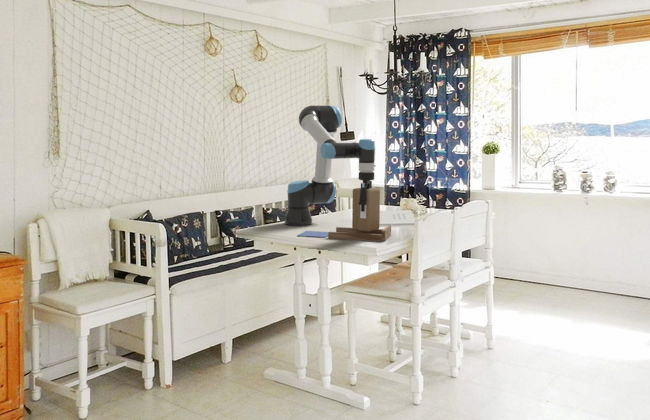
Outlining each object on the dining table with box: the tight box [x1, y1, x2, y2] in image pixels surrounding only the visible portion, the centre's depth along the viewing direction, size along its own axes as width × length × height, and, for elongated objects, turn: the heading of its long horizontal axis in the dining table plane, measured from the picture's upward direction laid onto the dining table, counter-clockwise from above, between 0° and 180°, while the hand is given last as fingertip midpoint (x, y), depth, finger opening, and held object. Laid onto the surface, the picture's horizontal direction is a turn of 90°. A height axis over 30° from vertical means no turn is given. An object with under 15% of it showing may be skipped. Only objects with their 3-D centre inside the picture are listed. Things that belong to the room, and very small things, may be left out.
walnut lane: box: [327, 225, 392, 242], centre depth 309 cm, size 16×28×5 cm, turn 74°
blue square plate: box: [297, 230, 329, 239], centre depth 315 cm, size 14×14×1 cm
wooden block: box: [351, 187, 381, 232], centre depth 307 cm, size 10×10×20 cm
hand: (366, 216), depth 307 cm, fingers closed on wooden block, 12 cm apart
